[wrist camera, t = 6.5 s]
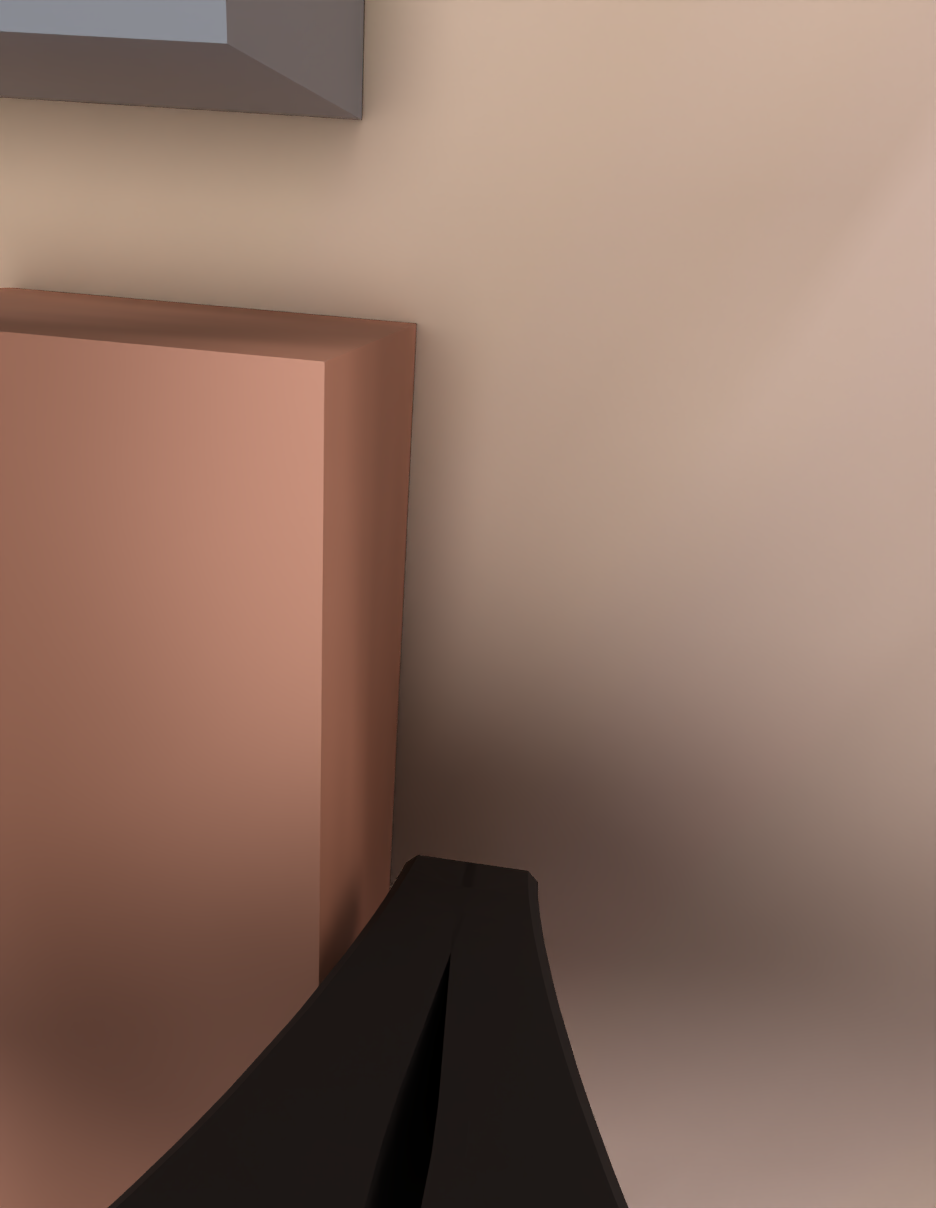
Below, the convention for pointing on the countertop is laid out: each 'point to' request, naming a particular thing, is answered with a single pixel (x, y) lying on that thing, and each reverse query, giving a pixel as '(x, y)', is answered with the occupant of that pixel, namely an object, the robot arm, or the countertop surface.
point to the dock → (187, 54)
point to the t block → (184, 704)
